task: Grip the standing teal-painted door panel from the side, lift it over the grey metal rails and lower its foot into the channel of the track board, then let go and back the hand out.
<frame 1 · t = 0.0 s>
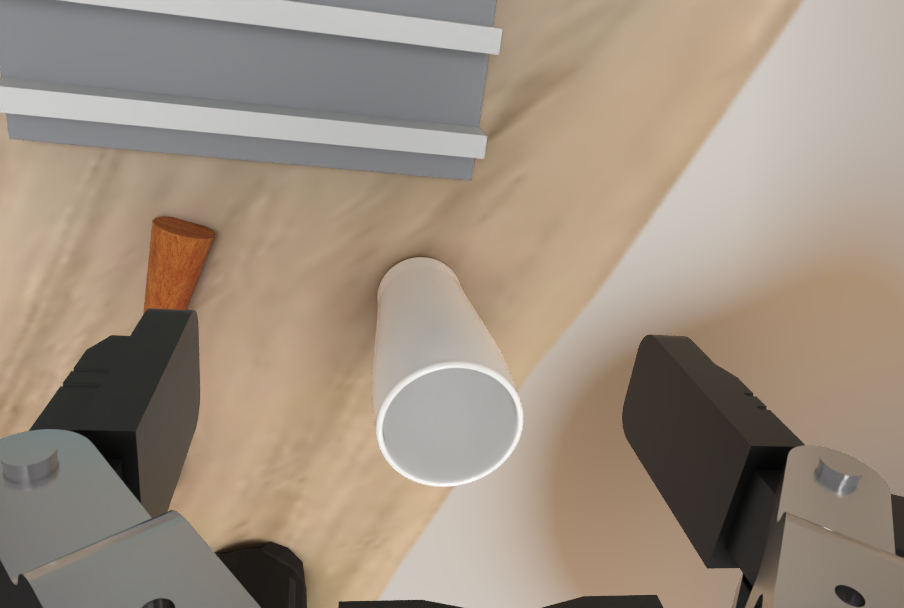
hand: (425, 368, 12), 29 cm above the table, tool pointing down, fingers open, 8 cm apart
drinking glass: (418, 291, 44), on the table
portable speaker: (253, 575, 52), on the table
kendama: (158, 361, 44), on the table
track board: (259, 59, 37), on the table
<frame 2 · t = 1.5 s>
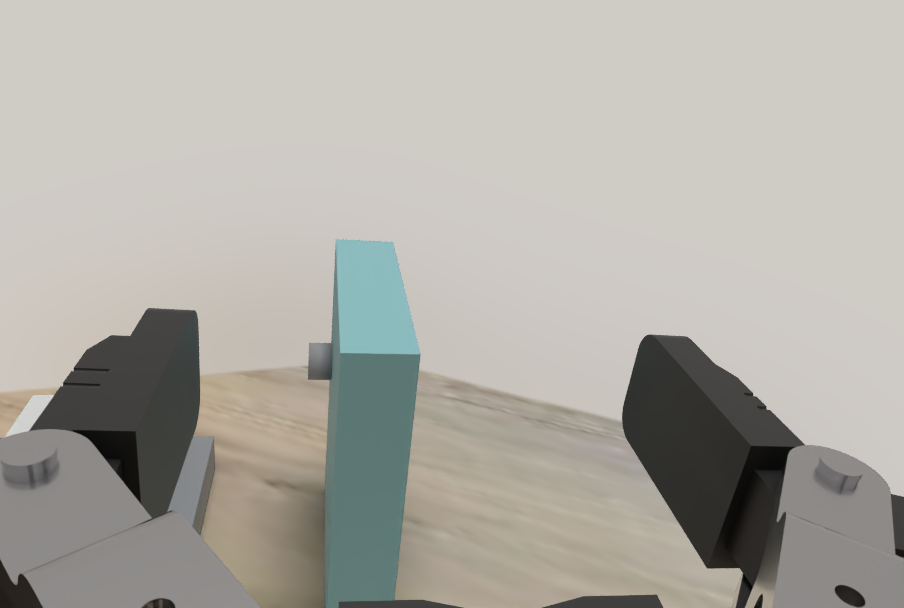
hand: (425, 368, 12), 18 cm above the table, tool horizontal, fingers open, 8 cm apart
door panel: (352, 563, 32), on the table
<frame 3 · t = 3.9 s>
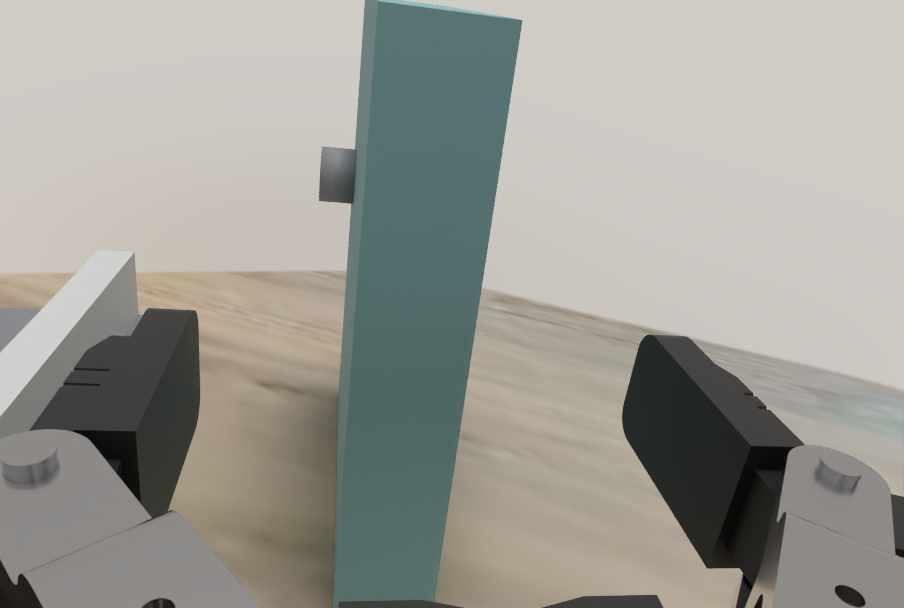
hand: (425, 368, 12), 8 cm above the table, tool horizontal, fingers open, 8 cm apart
door panel: (376, 482, 22), on the table
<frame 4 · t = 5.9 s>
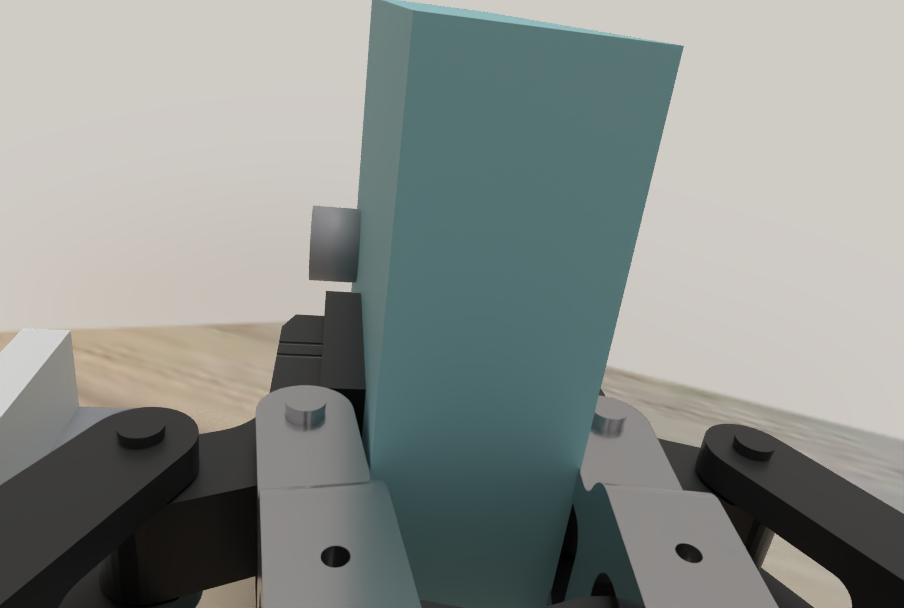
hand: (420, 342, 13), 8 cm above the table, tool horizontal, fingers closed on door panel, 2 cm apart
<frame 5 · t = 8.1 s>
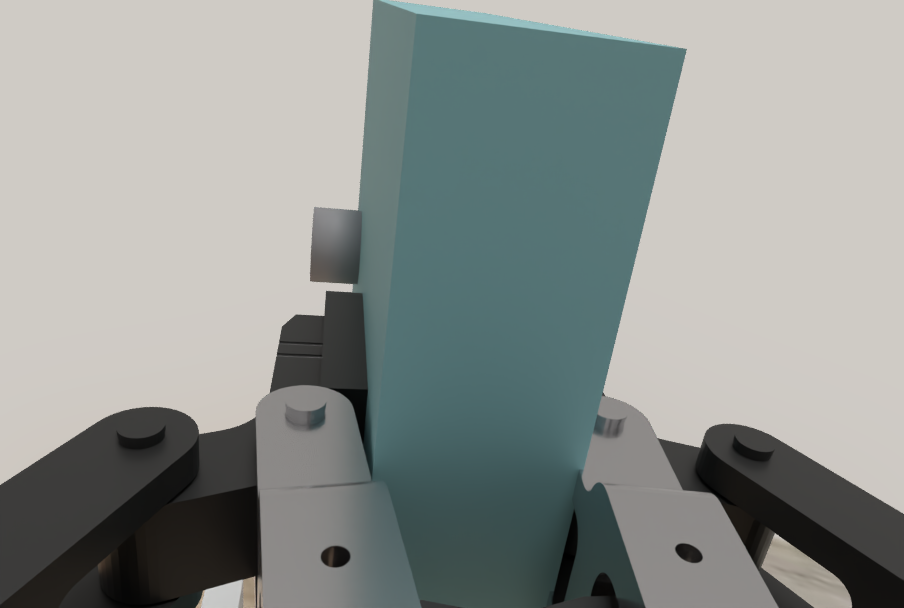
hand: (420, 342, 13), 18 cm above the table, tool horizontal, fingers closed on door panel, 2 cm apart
when the fingers open (11 cm above the table, at t = 10.3 s): door panel stays where it is, resting on track board.
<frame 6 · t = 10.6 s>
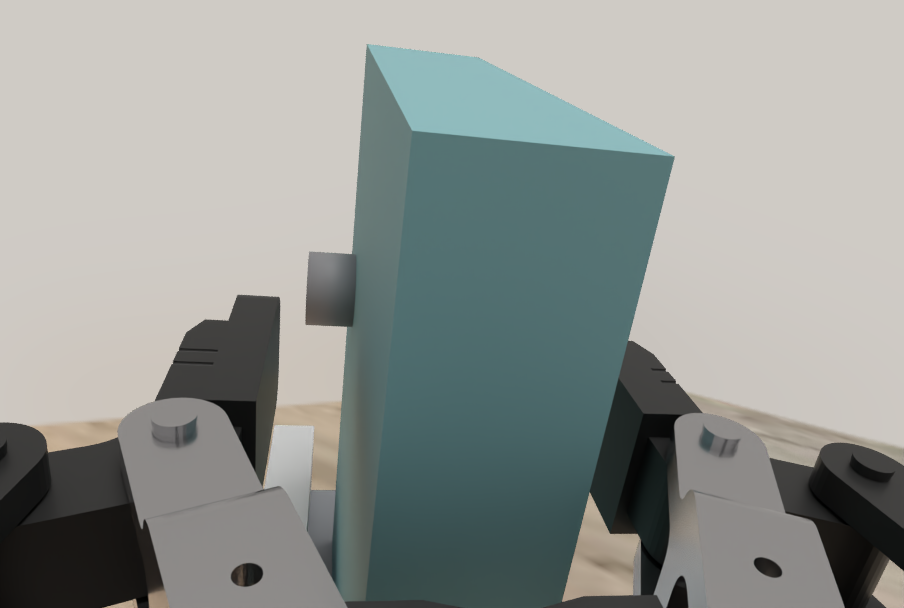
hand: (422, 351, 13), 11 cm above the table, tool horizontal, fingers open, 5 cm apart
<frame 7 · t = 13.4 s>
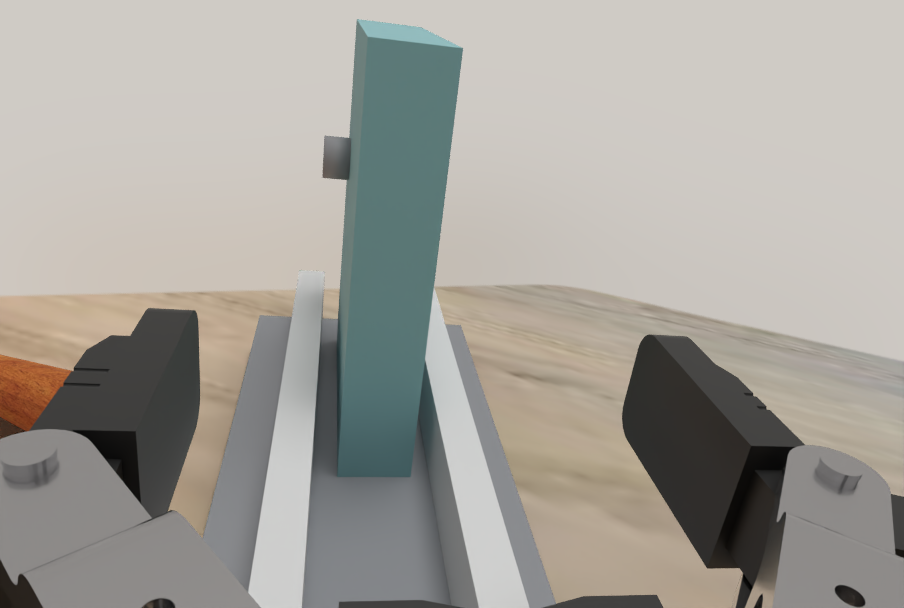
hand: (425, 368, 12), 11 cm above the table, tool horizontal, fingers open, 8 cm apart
door panel: (368, 398, 28), point 2 cm above the table, touching track board
track board: (367, 518, 25), on the table
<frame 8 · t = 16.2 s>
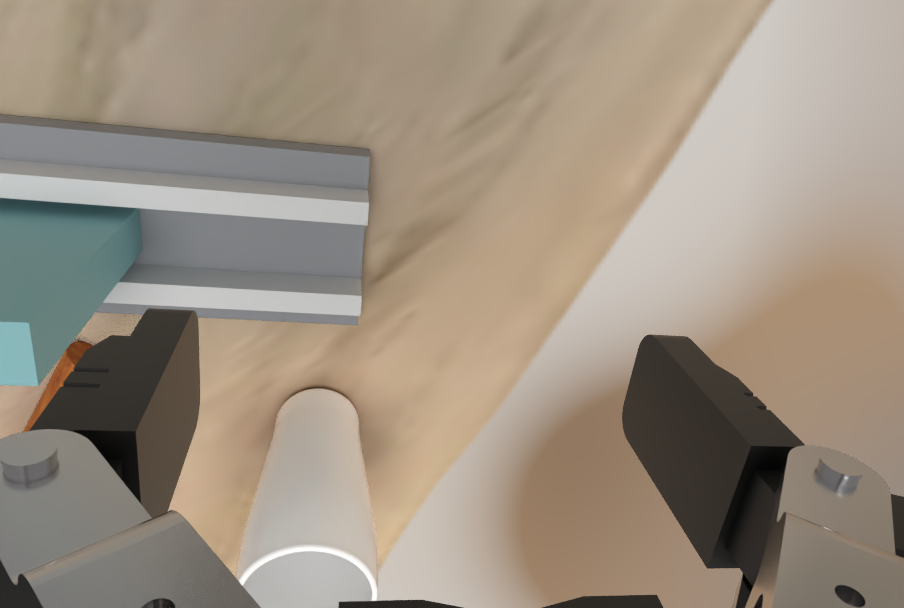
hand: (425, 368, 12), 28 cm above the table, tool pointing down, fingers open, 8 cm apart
drinking glass: (318, 417, 46), on the table
door panel: (38, 222, 36), point 2 cm above the table, touching track board
kendama: (25, 457, 44), on the table
track board: (146, 218, 38), on the table
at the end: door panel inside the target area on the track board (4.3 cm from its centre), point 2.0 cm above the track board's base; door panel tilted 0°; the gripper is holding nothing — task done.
